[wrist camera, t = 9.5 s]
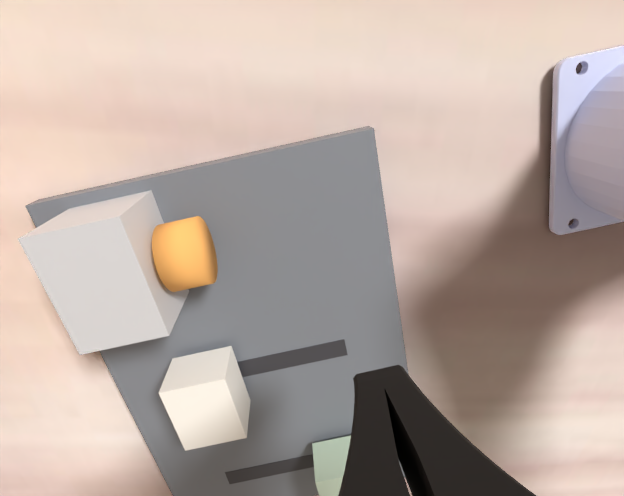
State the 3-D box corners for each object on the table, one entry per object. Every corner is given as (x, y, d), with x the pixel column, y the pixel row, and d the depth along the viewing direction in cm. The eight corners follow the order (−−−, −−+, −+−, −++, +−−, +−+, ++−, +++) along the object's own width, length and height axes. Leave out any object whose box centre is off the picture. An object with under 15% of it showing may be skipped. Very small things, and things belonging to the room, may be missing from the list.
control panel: (368, 126, 18) (396, 139, 13) (417, 459, 26) (444, 534, 21) (38, 199, 18) (-38, 236, 14) (189, 506, 26) (171, 589, 22)
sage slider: (364, 432, 23) (372, 470, 20) (373, 475, 24) (382, 516, 22) (312, 443, 23) (315, 482, 20) (324, 486, 24) (328, 527, 22)
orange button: (201, 207, 17) (187, 229, 14) (221, 265, 18) (210, 296, 15) (165, 215, 17) (144, 239, 14) (186, 273, 18) (170, 304, 16)
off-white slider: (231, 345, 20) (224, 378, 18) (250, 400, 21) (246, 437, 19) (172, 358, 20) (158, 393, 18) (195, 412, 21) (185, 450, 19)
